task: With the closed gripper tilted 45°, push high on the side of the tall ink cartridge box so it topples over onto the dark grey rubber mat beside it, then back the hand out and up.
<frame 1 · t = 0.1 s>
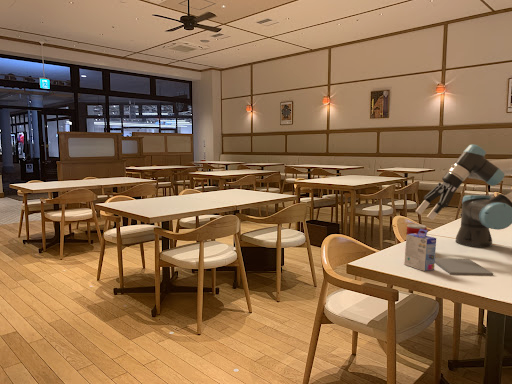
hand: (423, 215, 172), 15 cm above the table, tool tilted 35°, fingers open, 13 cm apart
canned food: (415, 250, 174), on the table
rubber mat: (459, 267, 149), on the table
ink cartridge box: (419, 267, 149), on the table
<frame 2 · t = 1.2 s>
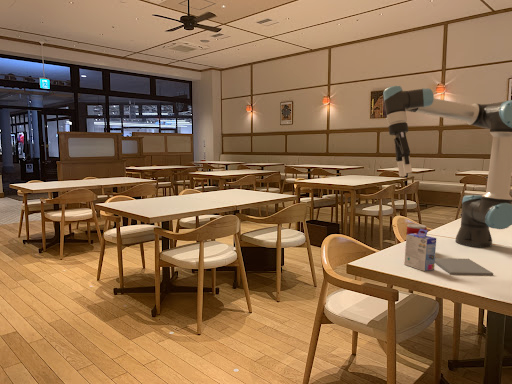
hand: (405, 174, 161), 34 cm above the table, tool pointing down, fingers open, 13 cm apart
nothing on the table moved.
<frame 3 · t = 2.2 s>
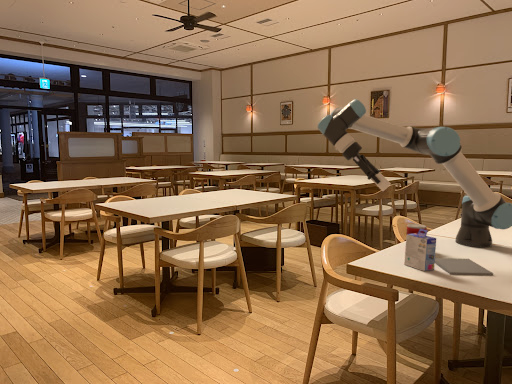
hand: (387, 187, 153), 30 cm above the table, tool tilted 45°, fingers open, 11 cm apart
nothing on the table moved.
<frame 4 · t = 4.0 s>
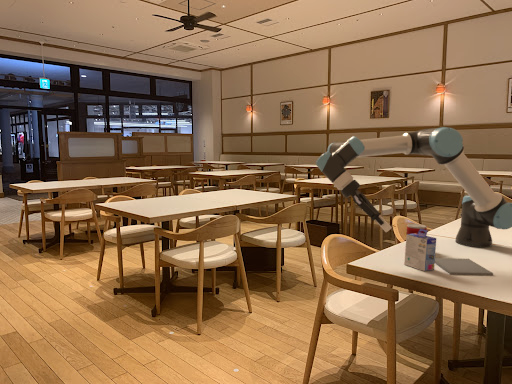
hand: (388, 230, 152), 13 cm above the table, tool tilted 45°, fingers closed
nothing on the table moved.
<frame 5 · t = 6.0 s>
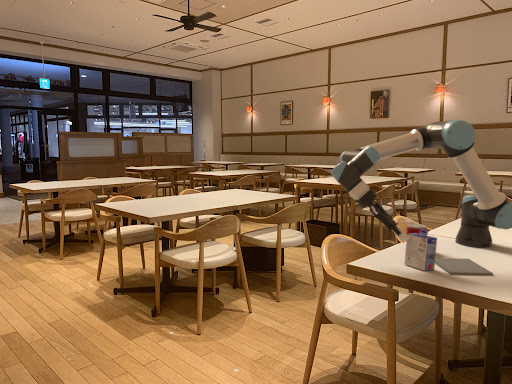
hand: (406, 240, 150), 10 cm above the table, tool tilted 45°, fingers closed
ink cartridge box: (419, 267, 149), on the table, touching gripper
everything else where it was.
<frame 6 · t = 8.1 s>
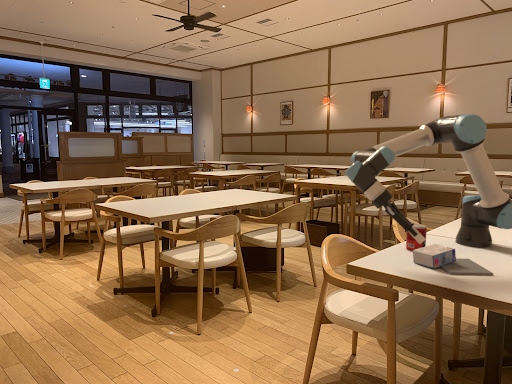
hand: (422, 241, 148), 10 cm above the table, tool tilted 45°, fingers closed
ink cartridge box: (422, 259, 150), point 3 cm above the table, touching rubber mat
everything else where it was.
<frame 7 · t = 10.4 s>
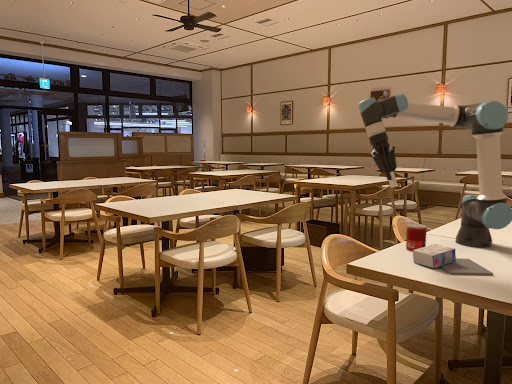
hand: (394, 186, 167), 28 cm above the table, tool tilted 20°, fingers closed
ink cartridge box: (422, 259, 150), point 3 cm above the table, touching rubber mat
everything else where it was.
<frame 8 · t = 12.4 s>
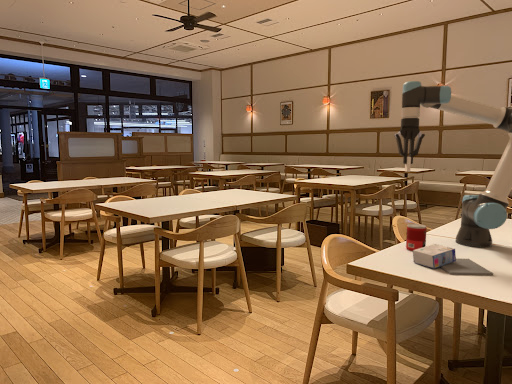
hand: (407, 171, 176), 34 cm above the table, tool pointing down, fingers closed
nothing on the table moved.
at the end: ink cartridge box tilted 82°; ink cartridge box touching rubber mat, table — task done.
